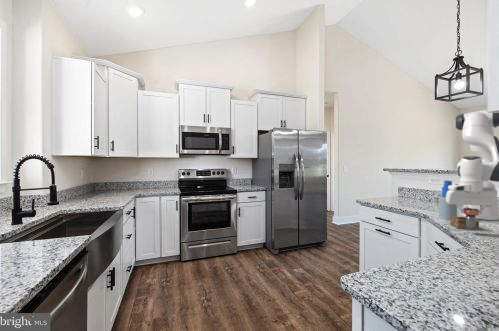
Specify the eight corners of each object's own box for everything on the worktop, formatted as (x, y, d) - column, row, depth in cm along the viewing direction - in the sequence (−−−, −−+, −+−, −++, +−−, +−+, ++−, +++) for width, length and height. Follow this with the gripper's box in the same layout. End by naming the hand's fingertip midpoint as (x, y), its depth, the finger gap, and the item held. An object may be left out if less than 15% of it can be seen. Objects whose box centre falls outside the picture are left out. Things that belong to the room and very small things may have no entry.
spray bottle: (437, 216, 153) (437, 179, 153) (453, 217, 150) (454, 180, 149) (441, 219, 145) (441, 181, 144) (459, 221, 141) (460, 181, 141)
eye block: (450, 224, 135) (450, 216, 134) (469, 225, 131) (469, 217, 131) (458, 229, 126) (458, 220, 126) (478, 230, 123) (478, 221, 123)
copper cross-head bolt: (466, 230, 116) (466, 209, 116) (460, 226, 122) (460, 206, 122) (481, 231, 114) (481, 210, 114) (474, 227, 120) (474, 207, 120)
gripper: (492, 187, 117) (492, 213, 117) (444, 185, 124) (444, 210, 124) (501, 188, 111) (501, 216, 112) (450, 187, 118) (449, 213, 118)
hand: (470, 213), depth 118 cm, fingers closed on copper cross-head bolt, 6 cm apart
